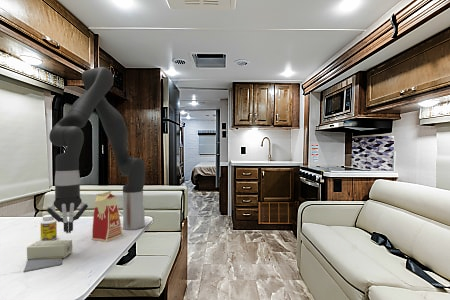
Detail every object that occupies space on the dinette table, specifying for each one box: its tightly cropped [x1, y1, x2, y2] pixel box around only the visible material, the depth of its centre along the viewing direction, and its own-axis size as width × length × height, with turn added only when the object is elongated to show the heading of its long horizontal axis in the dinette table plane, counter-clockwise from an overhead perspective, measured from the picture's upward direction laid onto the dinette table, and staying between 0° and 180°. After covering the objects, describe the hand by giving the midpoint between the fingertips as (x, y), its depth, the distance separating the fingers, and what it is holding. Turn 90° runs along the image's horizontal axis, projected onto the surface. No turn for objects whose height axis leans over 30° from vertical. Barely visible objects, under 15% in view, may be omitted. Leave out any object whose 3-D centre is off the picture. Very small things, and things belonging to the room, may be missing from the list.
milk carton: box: [91, 190, 124, 243], centre depth 114 cm, size 9×9×20 cm
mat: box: [23, 258, 63, 273], centre depth 91 cm, size 10×13×1 cm
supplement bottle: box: [40, 214, 58, 241], centre depth 111 cm, size 6×6×10 cm
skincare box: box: [26, 239, 73, 260], centre depth 95 cm, size 6×4×12 cm
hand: (68, 232), depth 94 cm, fingers closed
